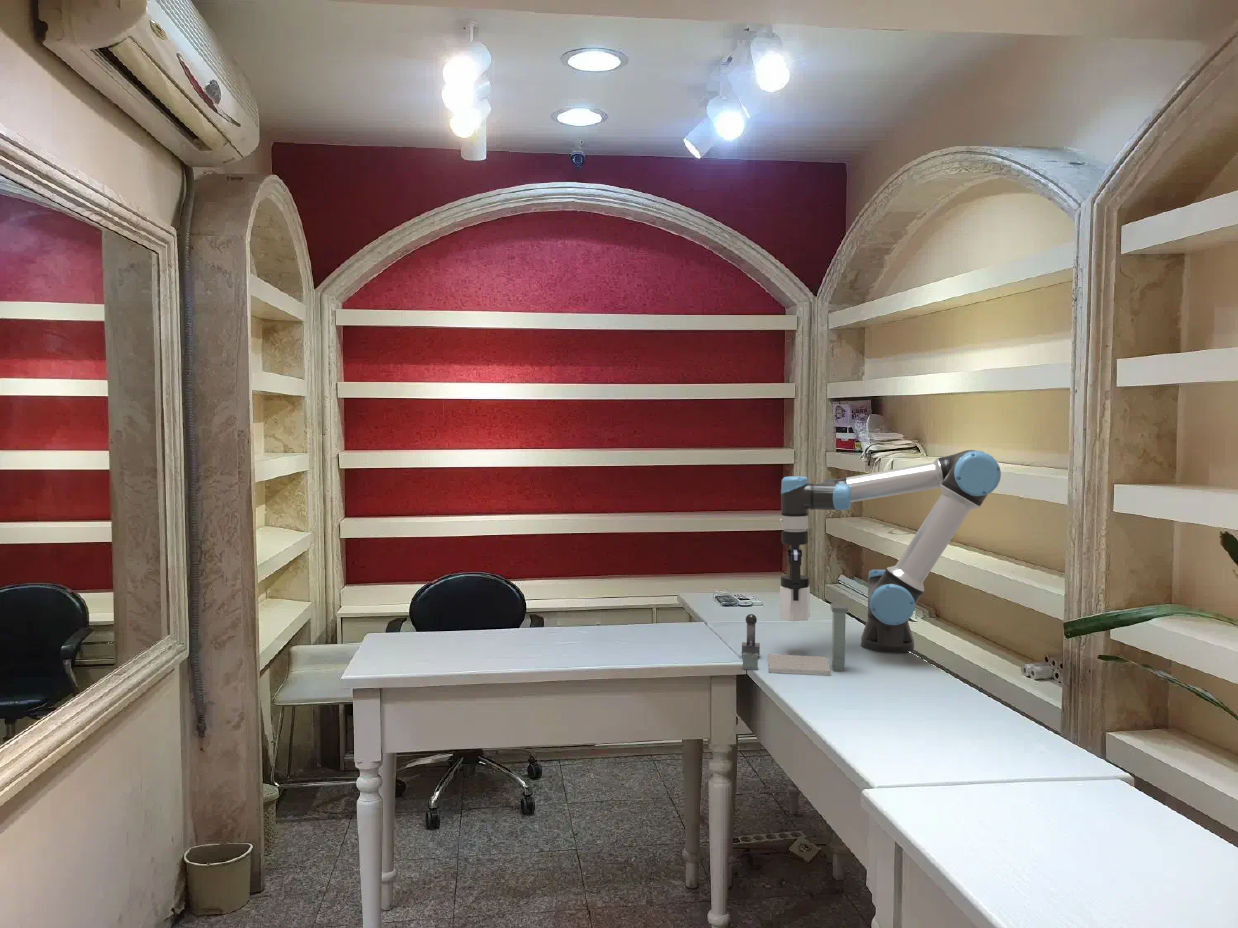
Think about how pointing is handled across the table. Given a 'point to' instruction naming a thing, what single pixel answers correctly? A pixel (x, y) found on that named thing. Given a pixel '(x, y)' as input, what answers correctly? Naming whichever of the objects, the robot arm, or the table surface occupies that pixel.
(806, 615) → the jar
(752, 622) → the lever
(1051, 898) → the table surface
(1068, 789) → the table surface
